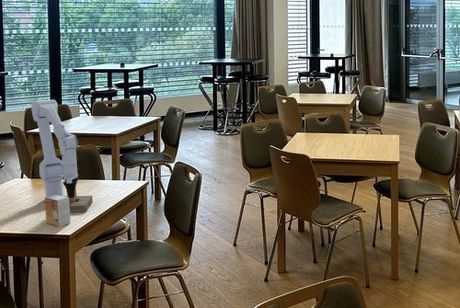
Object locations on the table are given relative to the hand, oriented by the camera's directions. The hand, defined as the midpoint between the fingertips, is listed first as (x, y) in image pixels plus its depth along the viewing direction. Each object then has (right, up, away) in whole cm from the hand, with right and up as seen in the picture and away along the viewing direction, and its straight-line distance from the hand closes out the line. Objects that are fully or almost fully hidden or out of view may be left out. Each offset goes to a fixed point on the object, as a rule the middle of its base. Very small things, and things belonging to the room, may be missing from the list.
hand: (72, 196), depth 272 cm
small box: (0, -9, -22) cm, 24 cm away
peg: (0, -3, +1) cm, 3 cm away
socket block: (0, -5, +1) cm, 5 cm away
